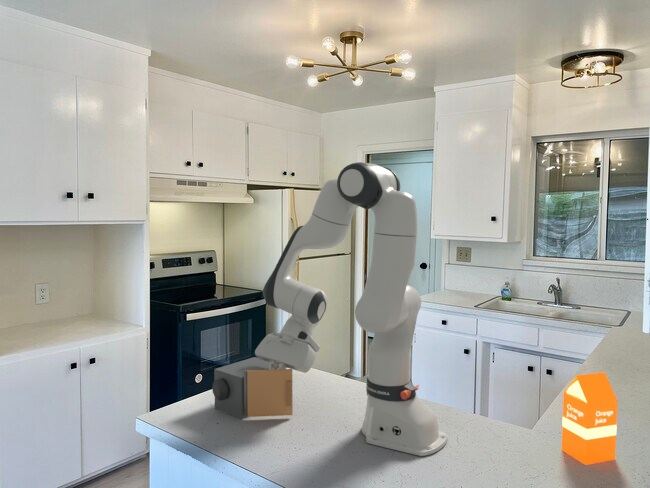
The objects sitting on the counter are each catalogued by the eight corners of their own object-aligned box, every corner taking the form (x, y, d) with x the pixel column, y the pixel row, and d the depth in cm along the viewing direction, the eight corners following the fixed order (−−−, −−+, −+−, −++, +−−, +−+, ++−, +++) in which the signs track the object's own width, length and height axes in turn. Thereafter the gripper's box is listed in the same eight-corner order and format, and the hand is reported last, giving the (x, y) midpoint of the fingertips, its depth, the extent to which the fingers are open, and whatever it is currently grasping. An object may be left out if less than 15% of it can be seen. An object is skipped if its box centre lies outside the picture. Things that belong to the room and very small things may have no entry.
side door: (292, 416, 140) (292, 371, 139) (243, 418, 139) (243, 372, 138) (292, 413, 142) (292, 368, 141) (244, 414, 141) (243, 369, 140)
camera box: (282, 402, 152) (282, 364, 151) (238, 421, 139) (237, 379, 138) (254, 393, 160) (254, 356, 159) (210, 410, 146) (209, 370, 146)
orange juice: (615, 459, 118) (619, 377, 116) (585, 465, 115) (588, 380, 114) (589, 445, 125) (592, 367, 124) (560, 449, 123) (563, 370, 121)
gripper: (264, 325, 153) (240, 364, 147) (314, 337, 140) (290, 380, 133) (275, 336, 157) (252, 375, 150) (324, 348, 144) (302, 391, 137)
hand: (270, 377), depth 142 cm, fingers closed
